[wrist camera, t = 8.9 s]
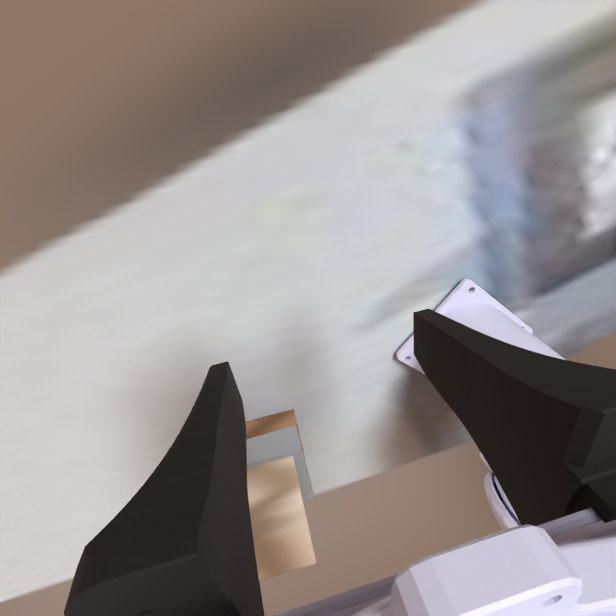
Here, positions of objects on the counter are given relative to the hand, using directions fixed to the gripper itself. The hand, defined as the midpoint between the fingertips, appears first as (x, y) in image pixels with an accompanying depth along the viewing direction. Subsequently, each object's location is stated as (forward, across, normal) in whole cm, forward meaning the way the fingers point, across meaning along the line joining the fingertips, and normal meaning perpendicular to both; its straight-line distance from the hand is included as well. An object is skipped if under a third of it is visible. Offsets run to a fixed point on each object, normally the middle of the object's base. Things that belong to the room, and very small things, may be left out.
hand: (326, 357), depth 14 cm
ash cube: (+7, +5, +16) cm, 18 cm away
